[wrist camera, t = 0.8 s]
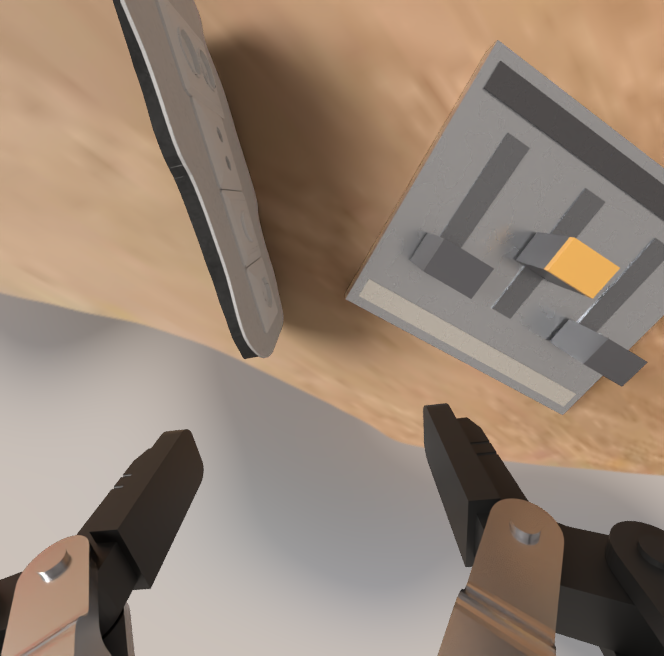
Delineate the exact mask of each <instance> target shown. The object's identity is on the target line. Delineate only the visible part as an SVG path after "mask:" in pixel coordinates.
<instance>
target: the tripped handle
mask: <svg viewBox="0 0 664 656" xmlns="http://www.w3.org/2000/svg"><path fill="white" fill-rule="evenodd" d="M516 261H518V262H520V263H521V264H523V265H524V266H526V267H528V268H529V269H531V270H532V271H534V272H536V273H537V274H539V275H540V276H542V277H544V278H545V279H547V280H548V281H550V282H552V283H553V284H555V285H558V286H560V287H563V288H565V289H568V290H571V291H573V292H576V293H579V294H581V295H584V296H587V297H589V298H592V299H593V298H594V297H595V296H596V295H597V293H598V292H599V291H600V290H601V289H602V288H603V287H604V286H605V285H606V283H607V282H608V281H609V280H610V279H611V278H612V277H613V276H614V275H615V273H616V272H617V271H618V270H619V269H620V267H618V266H617V265H615V264H614V263H612V262H611V261H609V260H608V259H606V258H605V257H603V256H602V255H600V254H599V253H597V252H596V251H594V250H593V249H591V248H590V247H588V246H587V245H585V244H584V243H582V242H581V241H579V240H578V239H576V238H574V237H567V236H561V235H554V234H548V233H541V232H537V233H536V234H535V236H534V237H533V238H532V240H531V241H530V242H529V243H528V245H527V246H526V247H525V249H524V250H523V251H522V253H521V254H520V255H519V257H518V258H517V259H516Z"/></svg>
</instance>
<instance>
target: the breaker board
mask: <svg viewBox="0 0 664 656" xmlns="http://www.w3.org/2000/svg"><path fill="white" fill-rule="evenodd" d="M537 232H541V233H548V234H554V235H561V236H567V237H574V238H576V239H578V240H579V241H581V242H582V243H584V244H585V245H587V246H588V247H590V248H591V249H593V250H594V251H596V252H597V253H599V254H600V255H602V256H603V257H605V258H606V259H608V260H609V261H611V262H612V263H614V264H615V265H617V266H618V267H620V269H619V270H618V271H617V272H616V273H615V275H614V276H613V277H612V278H611V279H610V280H609V281H608V282H607V283H606V285H605V286H604V287H603V288H602V289H601V290H600V291H599V292H598V293H597V295H596V296H595V297H594V298H593V299H592V298H589V297H587V296H584V295H581V294H579V293H576V292H573V291H571V290H568V289H565V288H563V287H560V286H558V285H555V284H553V283H552V282H550V281H548V280H547V279H545V278H544V277H542V276H540V275H539V274H537V273H536V272H534V271H532V270H531V269H529V268H528V267H526V266H524V265H523V264H521V263H520V262H518V261H516V259H517V258H518V257H519V255H520V254H521V253H522V251H523V250H524V249H525V247H526V246H527V245H528V243H529V242H530V241H531V240H532V238H533V237H534V236H535V234H536V233H537ZM427 233H430V234H433V235H436V236H439V237H442V238H445V239H447V240H448V241H450V242H452V243H453V244H455V245H456V246H458V247H460V248H461V249H463V250H465V251H466V252H468V253H470V254H471V255H473V256H474V257H476V258H478V259H479V260H481V261H483V262H484V263H486V264H488V265H489V266H491V267H492V268H494V270H493V271H492V272H491V274H490V275H489V276H488V278H487V279H486V280H485V282H484V283H483V284H482V286H481V287H480V288H479V290H478V291H477V292H476V294H475V295H474V296H473V298H472V299H470V298H468V297H467V296H465V295H463V294H461V293H460V292H458V291H456V290H455V289H453V288H451V287H449V286H448V285H446V284H444V283H442V282H441V281H439V280H437V279H436V278H434V277H432V276H430V275H429V274H427V273H425V272H424V271H422V270H421V269H420V268H418V267H417V266H416V265H415V264H413V263H412V262H411V261H410V259H411V258H412V256H413V255H414V253H415V251H416V250H417V248H418V247H419V245H420V244H421V242H422V241H423V239H424V237H425V236H426V234H427ZM345 299H346V300H348V301H350V302H352V303H354V304H356V305H357V306H359V307H361V308H363V309H365V310H367V311H369V312H371V313H372V314H374V315H376V316H378V317H380V318H382V319H384V320H386V321H387V322H389V323H391V324H393V325H395V326H397V327H399V328H401V329H402V330H404V331H406V332H408V333H410V334H412V335H414V336H416V337H417V338H419V339H421V340H423V341H425V342H427V343H429V344H431V345H432V346H434V347H436V348H438V349H440V350H442V351H444V352H445V353H447V354H449V355H451V356H453V357H455V358H457V359H459V360H460V361H462V362H464V363H466V364H468V365H470V366H472V367H474V368H475V369H477V370H479V371H481V372H483V373H485V374H487V375H489V376H490V377H492V378H494V379H496V380H498V381H500V382H502V383H504V384H505V385H507V386H509V387H511V388H513V389H515V390H517V391H519V392H520V393H522V394H524V395H526V396H528V397H530V398H532V399H534V400H535V401H537V402H539V403H541V404H543V405H545V406H547V407H549V408H550V409H552V410H554V411H556V412H558V413H560V414H562V415H563V414H564V413H565V412H566V411H567V410H568V409H569V408H570V407H571V406H572V405H573V404H574V403H575V402H576V401H577V400H578V399H579V398H580V397H581V396H582V395H583V394H585V393H586V392H587V391H588V390H589V389H590V388H591V387H592V386H593V385H594V384H595V383H596V382H597V381H598V380H599V379H600V378H601V377H602V376H603V375H601V374H599V373H598V372H596V371H594V370H593V369H591V368H589V367H587V366H586V365H584V364H582V363H581V362H579V361H578V360H576V359H575V358H573V357H572V356H570V355H569V354H567V353H566V352H564V351H563V350H561V349H559V348H558V347H556V346H555V345H553V344H552V343H550V340H551V339H552V338H553V337H554V336H555V335H556V334H557V333H558V331H559V330H560V329H561V328H562V327H563V326H564V325H565V324H566V322H567V321H568V320H569V319H571V320H573V321H575V322H577V323H579V324H581V325H583V326H585V327H587V328H589V329H591V330H593V331H595V332H597V333H599V334H601V335H603V336H605V337H607V338H609V339H610V340H612V341H614V342H615V343H617V344H619V345H620V346H622V347H623V348H625V349H627V350H629V349H630V348H631V347H632V346H633V345H634V344H635V343H636V342H637V341H638V340H639V339H640V338H641V337H642V336H643V335H644V334H645V333H646V332H647V331H648V330H649V329H650V328H651V327H652V326H653V325H654V324H655V323H656V322H657V321H658V320H659V319H660V318H661V317H662V316H663V315H664V168H663V167H661V166H660V165H659V164H658V163H656V162H655V161H654V160H652V159H651V158H650V157H649V156H647V155H646V154H645V153H643V152H642V151H641V150H639V149H638V148H637V147H636V146H634V145H633V144H632V143H630V142H629V141H628V140H627V139H625V138H624V137H623V136H621V135H620V134H619V133H617V132H616V131H615V130H614V129H612V128H611V127H610V126H608V125H607V124H606V123H605V122H603V121H602V120H601V119H599V118H598V117H597V116H596V115H594V114H593V113H592V112H590V111H589V110H588V109H586V108H585V107H584V106H583V105H581V104H580V103H579V102H577V101H576V100H575V99H574V98H572V97H571V96H570V95H568V94H567V93H566V92H564V91H563V90H562V89H561V88H559V87H558V86H557V85H555V84H554V83H553V82H552V81H550V80H549V79H548V78H546V77H545V76H544V75H543V74H541V73H540V72H539V71H537V70H536V69H535V68H533V67H532V66H531V65H530V64H528V63H527V62H526V61H524V60H523V59H522V58H521V57H519V56H518V55H517V54H515V53H514V52H513V51H511V50H510V49H509V48H508V47H506V46H505V45H504V44H502V43H501V42H500V41H499V40H497V41H496V42H495V43H494V44H493V45H492V46H491V47H490V48H489V49H488V50H487V51H486V53H485V54H484V56H483V58H482V59H481V61H480V63H479V65H478V66H477V68H476V70H475V71H474V73H473V75H472V77H471V78H470V80H469V82H468V83H467V85H466V87H465V89H464V90H463V92H462V94H461V95H460V97H459V99H458V101H457V102H456V104H455V106H454V107H453V109H452V111H451V113H450V114H449V116H448V118H447V120H446V121H445V123H444V125H443V126H442V128H441V130H440V132H439V133H438V135H437V137H436V138H435V140H434V142H433V144H432V145H431V147H430V149H429V150H428V152H427V154H426V156H425V157H424V159H423V161H422V162H421V164H420V166H419V168H418V169H417V171H416V173H415V174H414V176H413V178H412V180H411V181H410V183H409V185H408V186H407V188H406V190H405V192H404V193H403V195H402V197H401V198H400V200H399V202H398V204H397V205H396V207H395V209H394V210H393V212H392V214H391V216H390V217H389V219H388V221H387V222H386V224H385V226H384V228H383V229H382V231H381V233H380V234H379V236H378V238H377V240H376V241H375V243H374V245H373V246H372V248H371V250H370V252H369V253H368V255H367V257H366V258H365V260H364V262H363V264H362V265H361V267H360V269H359V270H358V272H357V274H356V276H355V277H354V279H353V281H352V283H351V284H350V286H349V288H348V289H347V291H346V293H345Z"/></svg>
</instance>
